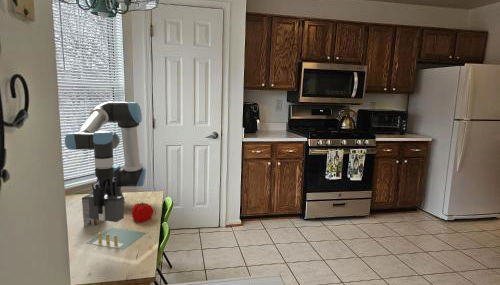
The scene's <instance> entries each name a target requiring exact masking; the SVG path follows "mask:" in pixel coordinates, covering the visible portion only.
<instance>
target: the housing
mask: <svg viewBox="0 0 500 285" xmlns="http://www.w3.org/2000/svg"><path fill="white" fill-rule="evenodd" d="M123 197H124V196H123ZM123 197H122V196H114V195H106V194H105V196H104V204H103V206H105V221H107V222H111V223H112V222H113V223H118V222H120V221H121V220H124V219H125V217H124V216H125V214H124V203H123ZM88 199H89V218H91V219H98V220H99V214H98V207H97V206H94V201H93V195H91V196H89V197H88ZM100 204H101V203H100ZM105 221H104V222H105Z"/></svg>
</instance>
